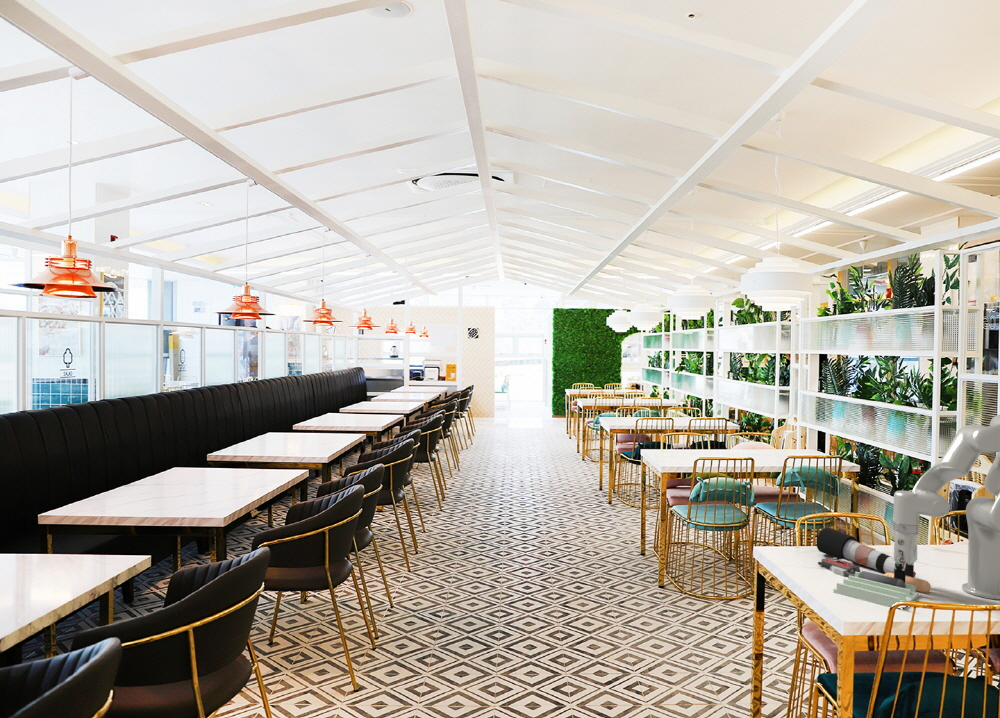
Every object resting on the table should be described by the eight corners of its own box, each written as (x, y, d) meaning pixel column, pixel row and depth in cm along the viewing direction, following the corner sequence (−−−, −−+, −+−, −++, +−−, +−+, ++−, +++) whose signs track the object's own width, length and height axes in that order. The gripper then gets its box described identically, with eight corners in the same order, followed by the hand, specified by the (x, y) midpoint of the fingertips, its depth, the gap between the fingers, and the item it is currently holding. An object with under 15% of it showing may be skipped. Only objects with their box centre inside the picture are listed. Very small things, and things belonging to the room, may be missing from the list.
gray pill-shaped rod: (907, 591, 211) (907, 579, 211) (903, 594, 209) (903, 582, 209) (860, 580, 221) (860, 568, 222) (856, 583, 219) (856, 571, 219)
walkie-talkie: (813, 567, 239) (864, 584, 222) (813, 555, 239) (864, 571, 222) (829, 564, 243) (880, 581, 225) (829, 552, 243) (881, 568, 225)
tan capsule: (932, 592, 214) (932, 580, 214) (929, 595, 211) (929, 583, 211) (885, 581, 224) (885, 570, 224) (881, 584, 221) (881, 572, 221)
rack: (919, 596, 210) (919, 586, 210) (902, 610, 198) (902, 599, 198) (852, 580, 225) (852, 570, 225) (833, 592, 212) (833, 582, 212)
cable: (908, 594, 224) (903, 571, 221) (819, 557, 254) (814, 536, 251) (924, 578, 228) (920, 555, 225) (835, 542, 258) (830, 522, 255)
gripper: (911, 534, 209) (909, 587, 209) (925, 526, 221) (923, 576, 221) (885, 529, 214) (883, 581, 214) (900, 522, 226) (898, 570, 226)
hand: (903, 578), depth 218 cm, fingers open, 9 cm apart
